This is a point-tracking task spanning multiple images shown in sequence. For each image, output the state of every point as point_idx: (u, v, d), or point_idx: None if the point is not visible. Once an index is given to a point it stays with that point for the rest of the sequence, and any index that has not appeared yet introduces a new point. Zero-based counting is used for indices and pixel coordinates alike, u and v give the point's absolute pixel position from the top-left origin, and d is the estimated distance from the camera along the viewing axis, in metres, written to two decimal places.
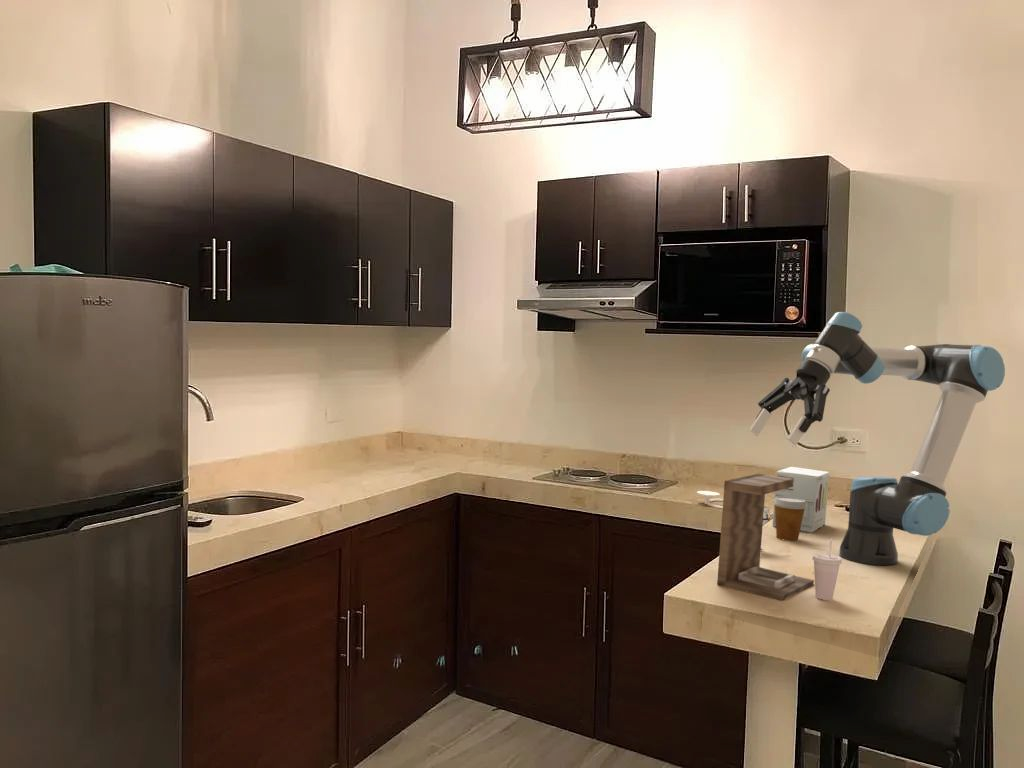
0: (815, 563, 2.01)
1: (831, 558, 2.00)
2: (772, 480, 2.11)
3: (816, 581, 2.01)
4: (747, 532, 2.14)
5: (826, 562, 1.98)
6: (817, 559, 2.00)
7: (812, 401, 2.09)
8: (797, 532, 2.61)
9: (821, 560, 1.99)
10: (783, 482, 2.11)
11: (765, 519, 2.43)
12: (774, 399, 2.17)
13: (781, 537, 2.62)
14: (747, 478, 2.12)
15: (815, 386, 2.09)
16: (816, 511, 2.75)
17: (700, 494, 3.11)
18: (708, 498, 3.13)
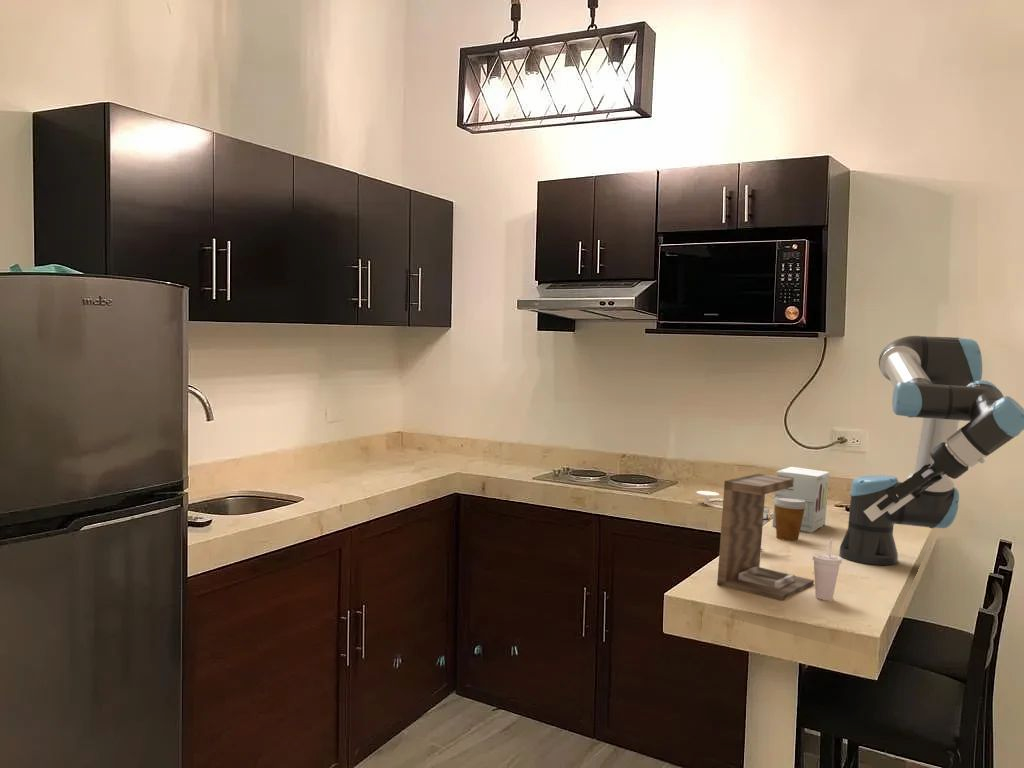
0: (815, 563, 2.01)
1: (831, 558, 2.00)
2: (772, 480, 2.11)
3: (816, 581, 2.01)
4: (747, 532, 2.14)
5: (826, 562, 1.98)
6: (817, 559, 2.00)
7: None
8: (797, 532, 2.61)
9: (821, 560, 1.99)
10: (783, 482, 2.11)
11: (765, 519, 2.43)
12: (909, 494, 1.84)
13: (781, 537, 2.62)
14: (747, 478, 2.12)
15: None
16: (816, 511, 2.75)
17: (700, 494, 3.11)
18: (708, 498, 3.13)
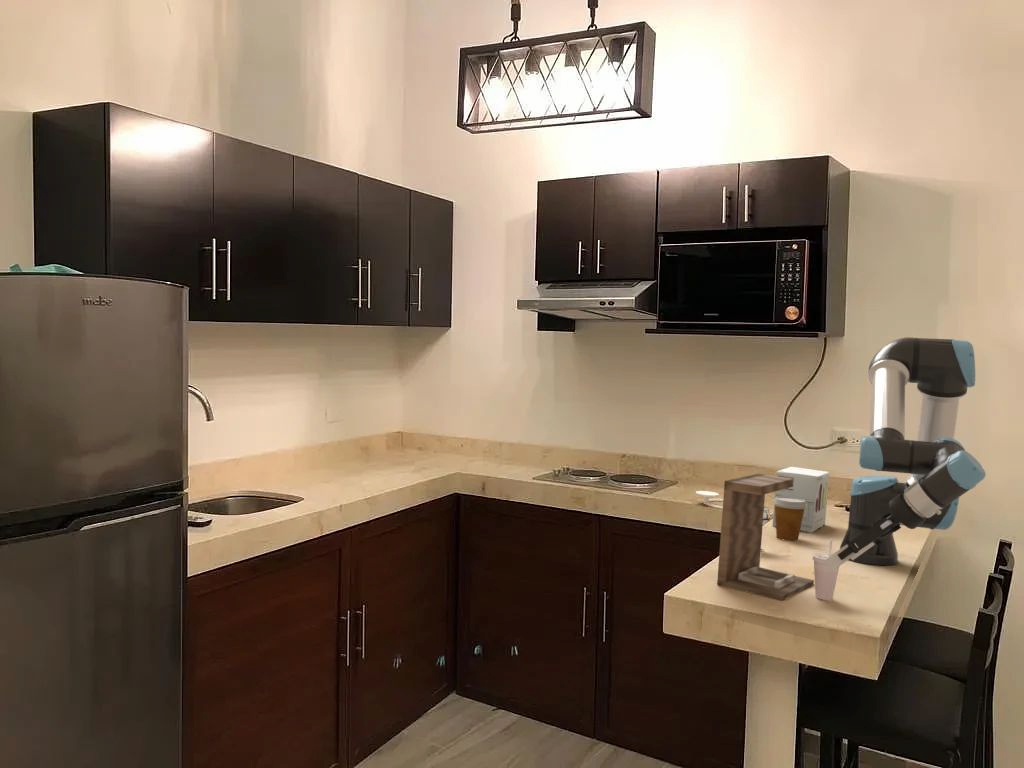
0: (815, 563, 2.01)
1: None
2: (772, 480, 2.11)
3: (816, 581, 2.01)
4: (747, 532, 2.14)
5: (826, 562, 1.98)
6: (817, 559, 2.00)
7: None
8: (797, 532, 2.61)
9: (821, 560, 1.99)
10: (783, 482, 2.11)
11: (765, 519, 2.43)
12: (869, 544, 1.89)
13: (781, 537, 2.62)
14: (747, 478, 2.12)
15: None
16: (816, 511, 2.75)
17: (699, 494, 3.11)
18: (707, 498, 3.12)
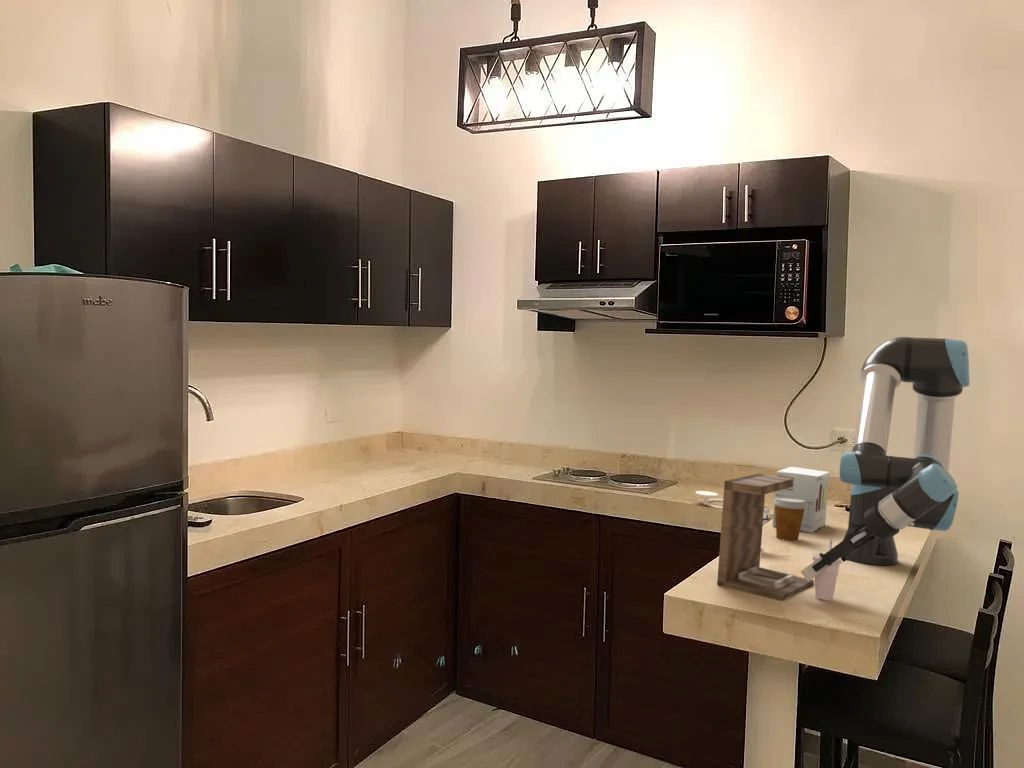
0: None
1: None
2: (772, 480, 2.11)
3: (816, 581, 2.01)
4: (747, 532, 2.14)
5: None
6: None
7: None
8: (797, 532, 2.61)
9: None
10: (783, 482, 2.11)
11: (765, 519, 2.43)
12: (842, 556, 1.96)
13: (781, 537, 2.62)
14: (747, 478, 2.12)
15: None
16: (816, 511, 2.75)
17: (699, 494, 3.11)
18: (707, 498, 3.12)
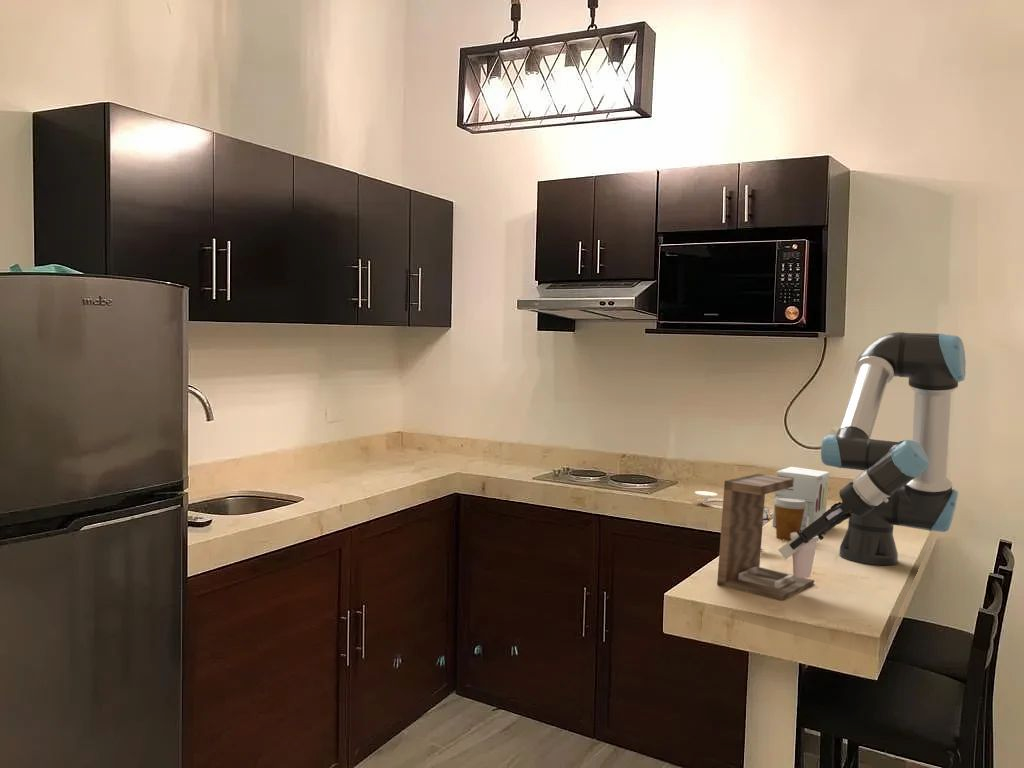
0: None
1: None
2: (772, 480, 2.11)
3: (794, 559, 2.03)
4: (747, 532, 2.14)
5: None
6: None
7: None
8: None
9: None
10: (783, 482, 2.11)
11: (765, 519, 2.43)
12: (819, 533, 1.98)
13: (781, 537, 2.62)
14: (747, 478, 2.12)
15: None
16: (816, 511, 2.75)
17: (698, 494, 3.10)
18: (706, 498, 3.12)
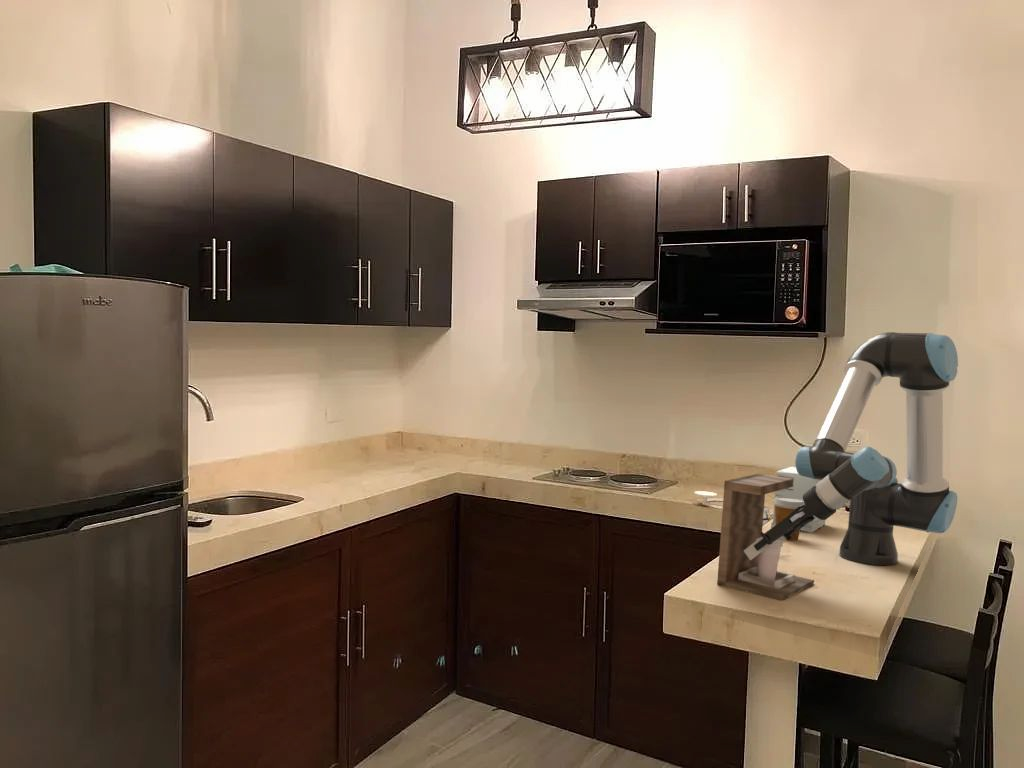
0: None
1: None
2: (772, 480, 2.11)
3: (759, 564, 2.10)
4: (747, 532, 2.14)
5: None
6: None
7: None
8: (797, 532, 2.61)
9: None
10: (783, 482, 2.11)
11: (765, 519, 2.43)
12: (782, 535, 2.03)
13: None
14: (747, 478, 2.12)
15: None
16: None
17: (698, 494, 3.10)
18: (706, 498, 3.12)
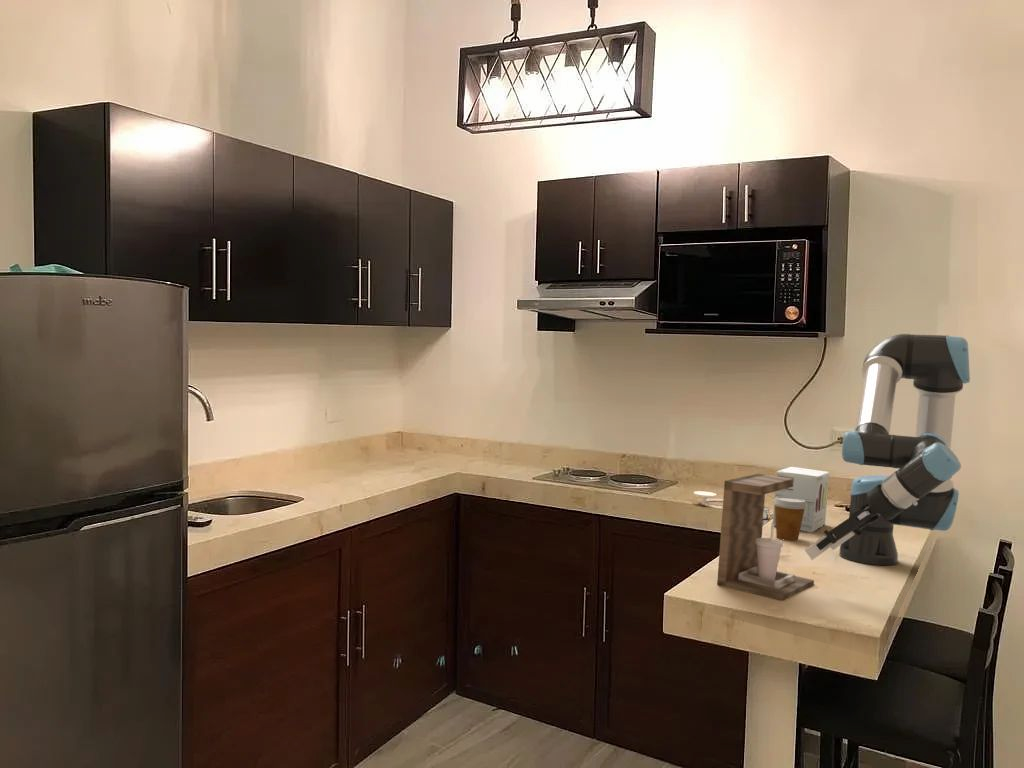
0: (757, 547, 2.09)
1: (772, 542, 2.08)
2: (772, 480, 2.11)
3: (759, 564, 2.10)
4: (747, 532, 2.14)
5: (767, 546, 2.07)
6: (759, 543, 2.08)
7: None
8: (797, 532, 2.61)
9: (763, 544, 2.08)
10: (783, 482, 2.11)
11: (765, 519, 2.43)
12: (847, 534, 1.93)
13: (781, 537, 2.62)
14: (747, 478, 2.12)
15: None
16: (816, 511, 2.75)
17: (697, 495, 3.10)
18: (705, 498, 3.11)
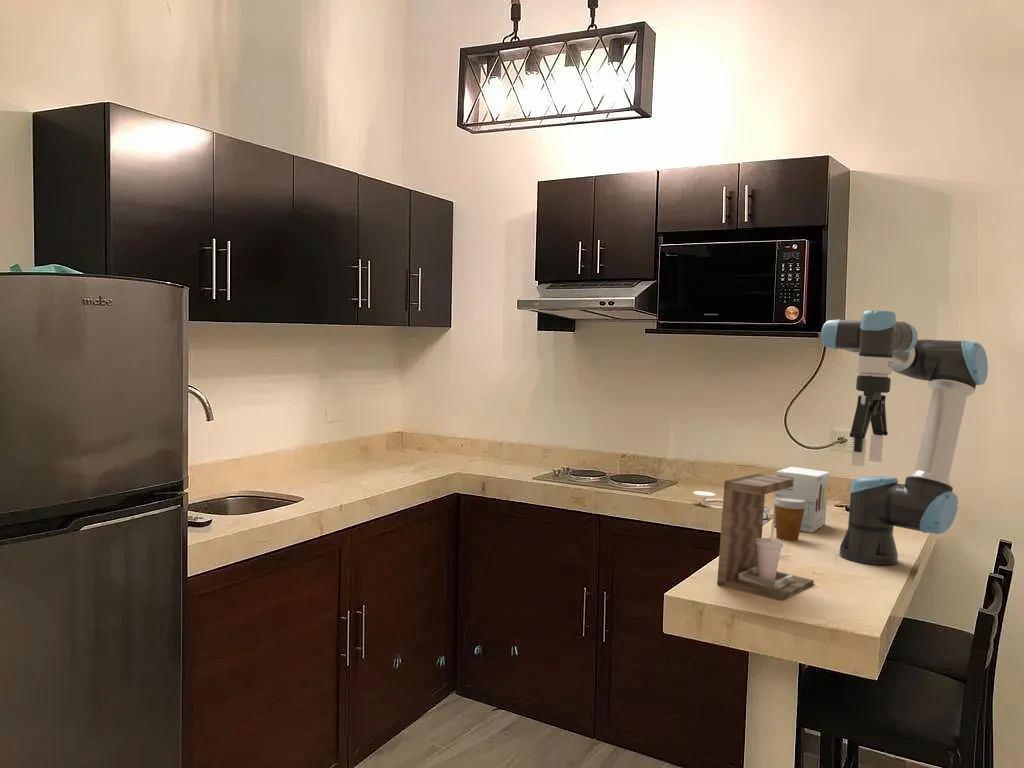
0: (758, 547, 2.09)
1: (773, 542, 2.08)
2: (772, 480, 2.11)
3: (759, 564, 2.09)
4: (747, 532, 2.14)
5: (767, 546, 2.07)
6: (759, 543, 2.08)
7: None
8: (797, 532, 2.61)
9: (763, 544, 2.07)
10: (783, 482, 2.11)
11: (765, 519, 2.43)
12: (868, 425, 2.03)
13: (781, 537, 2.62)
14: (747, 478, 2.12)
15: None
16: (816, 511, 2.75)
17: (697, 495, 3.09)
18: (704, 498, 3.11)
